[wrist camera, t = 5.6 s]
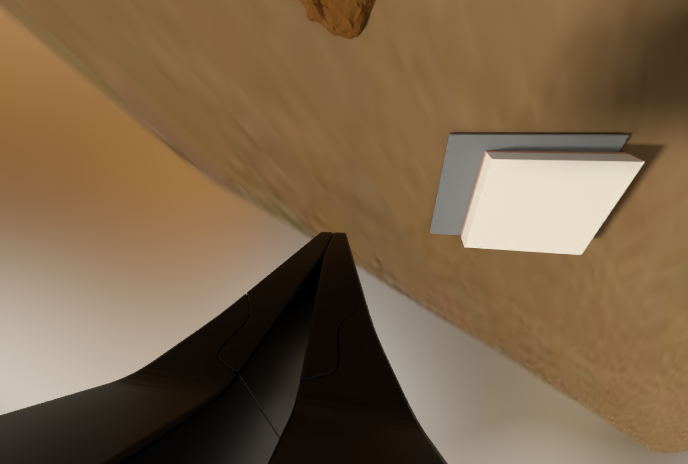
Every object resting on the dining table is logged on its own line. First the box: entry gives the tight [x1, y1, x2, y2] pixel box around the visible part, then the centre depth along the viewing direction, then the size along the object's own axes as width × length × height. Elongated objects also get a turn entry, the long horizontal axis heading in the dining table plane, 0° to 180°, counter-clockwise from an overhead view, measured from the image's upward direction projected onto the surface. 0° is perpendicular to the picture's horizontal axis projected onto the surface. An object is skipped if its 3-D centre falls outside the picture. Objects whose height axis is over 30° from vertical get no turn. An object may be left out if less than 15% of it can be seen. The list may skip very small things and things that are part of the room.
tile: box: [461, 151, 645, 255], centre depth 18 cm, size 2×7×8 cm
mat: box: [430, 133, 629, 235], centre depth 18 cm, size 10×8×1 cm
